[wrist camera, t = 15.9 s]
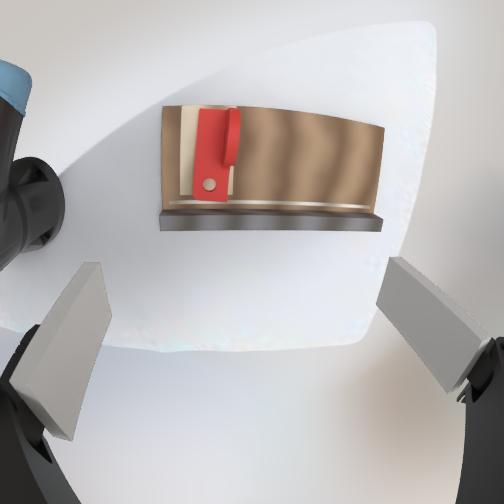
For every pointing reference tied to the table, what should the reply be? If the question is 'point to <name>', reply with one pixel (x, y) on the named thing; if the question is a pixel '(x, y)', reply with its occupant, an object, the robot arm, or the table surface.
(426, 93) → the table surface
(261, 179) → the board
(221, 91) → the table surface
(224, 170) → the bracket
